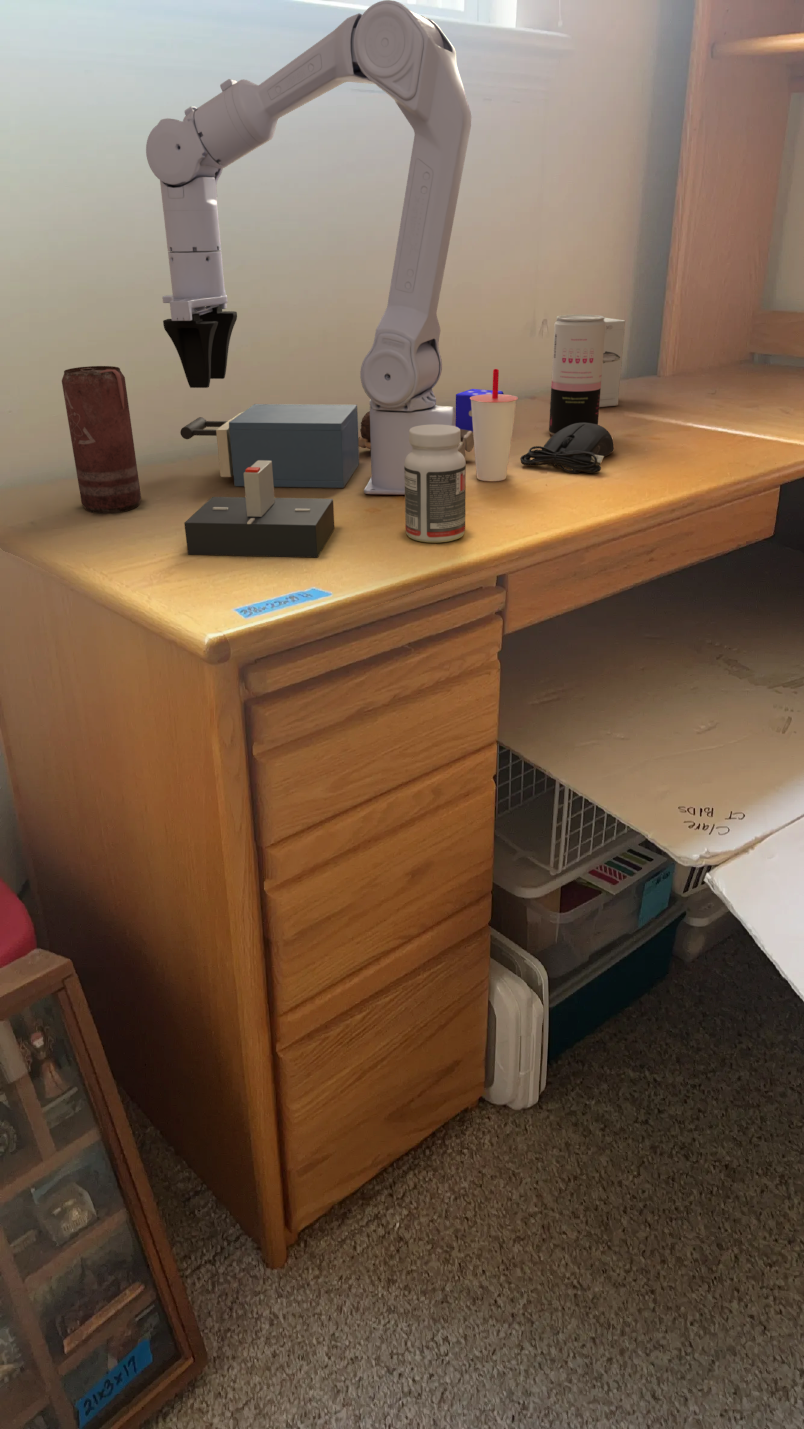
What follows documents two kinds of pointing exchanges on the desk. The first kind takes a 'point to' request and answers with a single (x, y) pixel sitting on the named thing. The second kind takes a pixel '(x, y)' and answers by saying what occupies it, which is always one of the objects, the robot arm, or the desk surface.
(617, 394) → the white packaging box
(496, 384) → the cup
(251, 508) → the grey block
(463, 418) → the die
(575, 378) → the beverage can
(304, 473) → the compartment
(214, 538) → the control panel
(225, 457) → the drawer
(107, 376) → the can
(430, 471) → the pill bottle
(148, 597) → the desk surface
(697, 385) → the desk surface
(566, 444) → the computer mouse
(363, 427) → the figurine
